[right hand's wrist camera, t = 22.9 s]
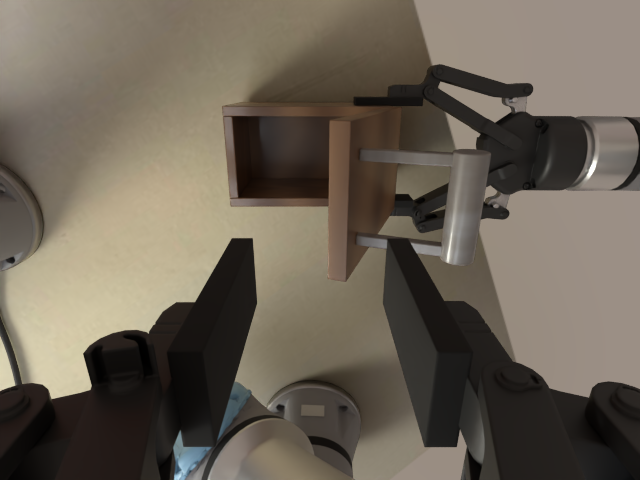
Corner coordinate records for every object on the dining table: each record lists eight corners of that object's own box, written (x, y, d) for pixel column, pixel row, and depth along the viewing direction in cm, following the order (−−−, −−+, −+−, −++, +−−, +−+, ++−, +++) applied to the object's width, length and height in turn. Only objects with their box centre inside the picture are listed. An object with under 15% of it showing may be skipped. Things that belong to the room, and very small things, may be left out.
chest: (246, 183, 48) (230, 206, 39) (240, 102, 45) (221, 105, 36) (373, 183, 49) (387, 206, 39) (377, 102, 45) (393, 106, 36)
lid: (327, 279, 24) (469, 303, 22) (329, 120, 21) (498, 125, 18) (382, 207, 39) (471, 217, 36) (388, 106, 35) (488, 108, 33)
